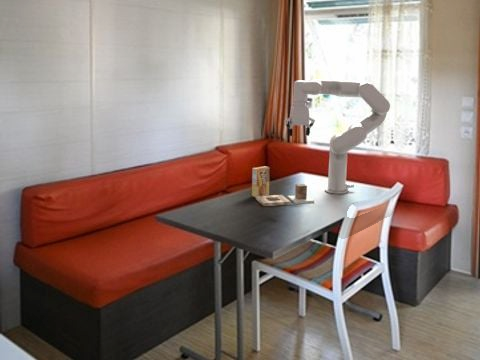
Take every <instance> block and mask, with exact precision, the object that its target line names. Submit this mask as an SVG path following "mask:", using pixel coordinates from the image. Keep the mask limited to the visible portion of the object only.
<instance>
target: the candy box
mask: <svg viewBox="0 0 480 360" xmlns="http://www.w3.org/2000/svg"><path fill="white" fill-rule="evenodd" d="M270 172H271V171H270V167H269V166H265V165H264V166H258V167H252V172H251V173H252V176H251V178H252V179H251V180H252V181H251V196H252V197H254V198H256V196H269V195H270Z"/></svg>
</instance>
